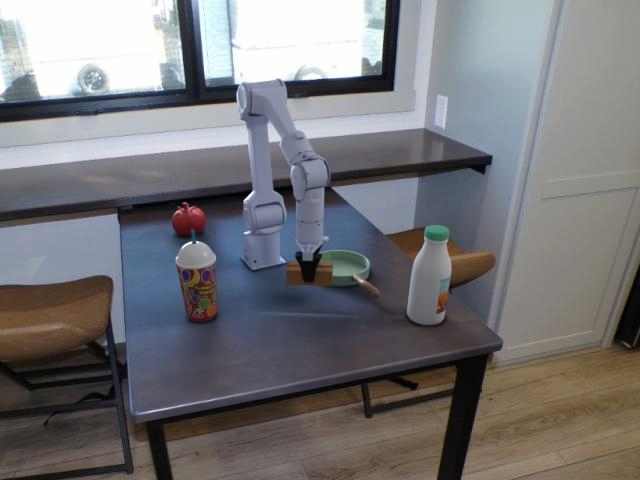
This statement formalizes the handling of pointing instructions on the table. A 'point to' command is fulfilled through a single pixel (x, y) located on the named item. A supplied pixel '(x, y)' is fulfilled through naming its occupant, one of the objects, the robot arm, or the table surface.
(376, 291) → the pan handle
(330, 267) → the taped cardboard box
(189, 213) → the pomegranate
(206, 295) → the smoothie
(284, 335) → the table surface
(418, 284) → the milk bottle
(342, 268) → the pan
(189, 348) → the table surface
